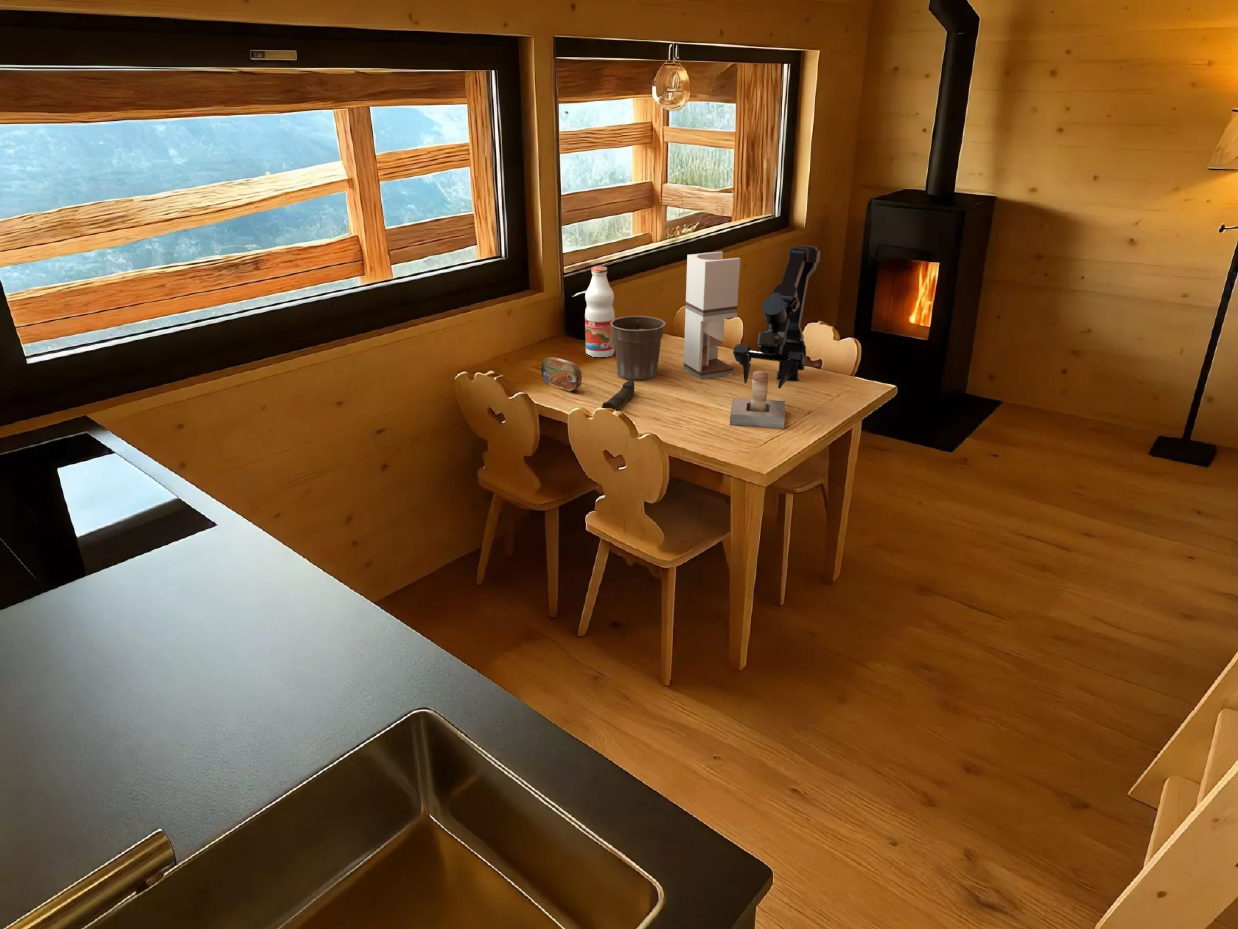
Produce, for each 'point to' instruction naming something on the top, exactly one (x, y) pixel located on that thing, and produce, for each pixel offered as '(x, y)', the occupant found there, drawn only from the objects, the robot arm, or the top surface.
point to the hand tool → (621, 396)
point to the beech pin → (759, 391)
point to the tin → (561, 373)
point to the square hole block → (757, 414)
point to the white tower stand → (708, 311)
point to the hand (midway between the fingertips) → (761, 385)
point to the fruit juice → (599, 315)
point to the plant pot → (637, 346)
